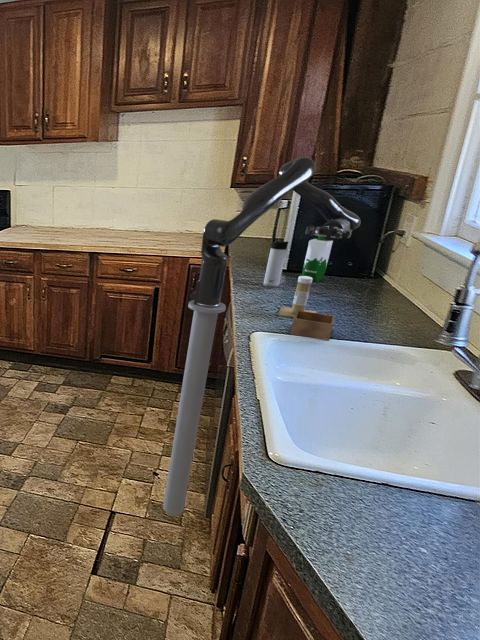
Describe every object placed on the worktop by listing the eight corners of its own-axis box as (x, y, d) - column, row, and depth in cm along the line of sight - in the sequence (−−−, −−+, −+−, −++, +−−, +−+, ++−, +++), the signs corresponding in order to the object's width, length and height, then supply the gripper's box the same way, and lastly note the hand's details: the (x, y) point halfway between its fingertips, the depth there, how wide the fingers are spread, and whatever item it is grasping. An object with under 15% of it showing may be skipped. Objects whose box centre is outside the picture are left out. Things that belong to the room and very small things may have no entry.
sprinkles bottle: (291, 310, 198) (299, 274, 193) (305, 312, 196) (313, 276, 191) (289, 313, 195) (297, 277, 190) (303, 315, 193) (312, 279, 187)
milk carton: (325, 279, 246) (336, 236, 238) (318, 282, 240) (329, 238, 233) (305, 276, 252) (315, 233, 244) (298, 279, 246) (308, 235, 238)
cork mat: (277, 315, 194) (277, 314, 194) (281, 307, 203) (281, 306, 203) (314, 321, 188) (314, 319, 188) (316, 312, 197) (317, 311, 197)
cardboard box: (289, 334, 175) (293, 318, 173) (293, 325, 183) (297, 310, 181) (328, 340, 169) (333, 324, 167) (330, 331, 178) (334, 315, 176)
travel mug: (272, 288, 230) (282, 242, 222) (259, 285, 235) (269, 239, 228) (282, 287, 232) (292, 241, 224) (269, 283, 238) (279, 238, 230)
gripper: (316, 217, 206) (304, 221, 195) (358, 221, 197) (348, 225, 186) (311, 237, 209) (299, 242, 198) (353, 241, 200) (343, 247, 189)
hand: (323, 234), depth 192 cm, fingers open, 8 cm apart
